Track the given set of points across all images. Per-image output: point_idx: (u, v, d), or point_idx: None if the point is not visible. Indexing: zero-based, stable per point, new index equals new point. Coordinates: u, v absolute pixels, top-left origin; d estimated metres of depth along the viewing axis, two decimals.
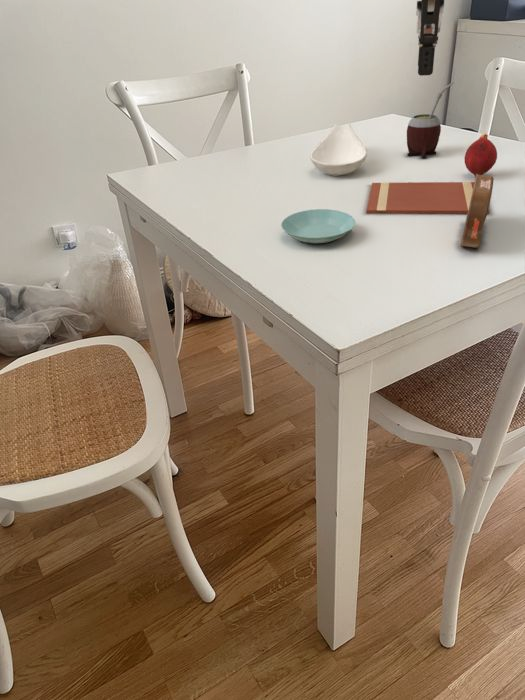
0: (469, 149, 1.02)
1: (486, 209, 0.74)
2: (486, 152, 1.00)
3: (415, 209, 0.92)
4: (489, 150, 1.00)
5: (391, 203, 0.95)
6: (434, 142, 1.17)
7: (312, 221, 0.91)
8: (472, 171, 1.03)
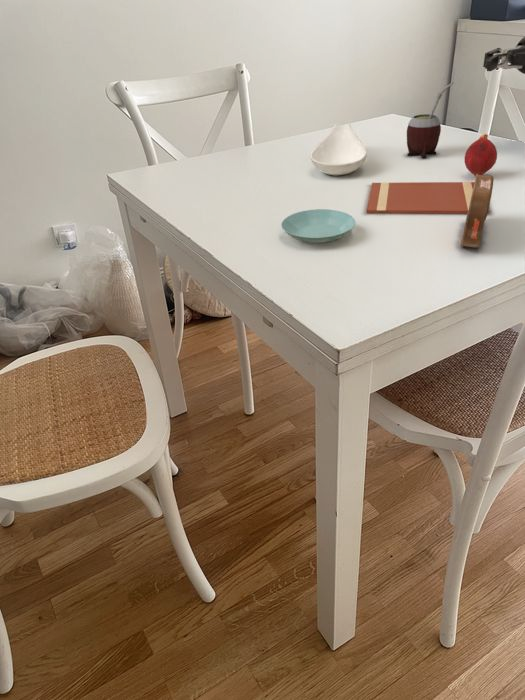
0: (469, 149, 1.02)
1: (486, 209, 0.74)
2: (486, 152, 1.00)
3: (415, 209, 0.92)
4: (489, 150, 1.00)
5: (391, 203, 0.95)
6: (434, 142, 1.17)
7: (312, 221, 0.91)
8: (472, 171, 1.03)
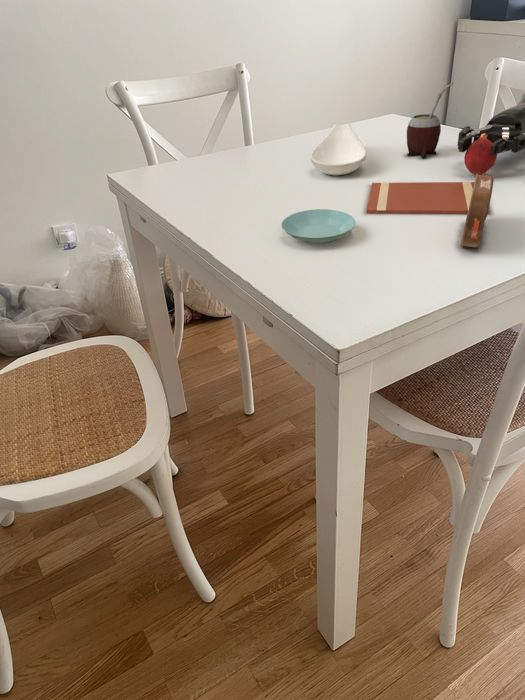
0: (469, 149, 1.02)
1: (486, 209, 0.74)
2: (486, 151, 1.00)
3: (415, 209, 0.92)
4: (489, 150, 1.00)
5: (391, 203, 0.95)
6: (434, 142, 1.17)
7: (312, 221, 0.91)
8: (472, 171, 1.03)
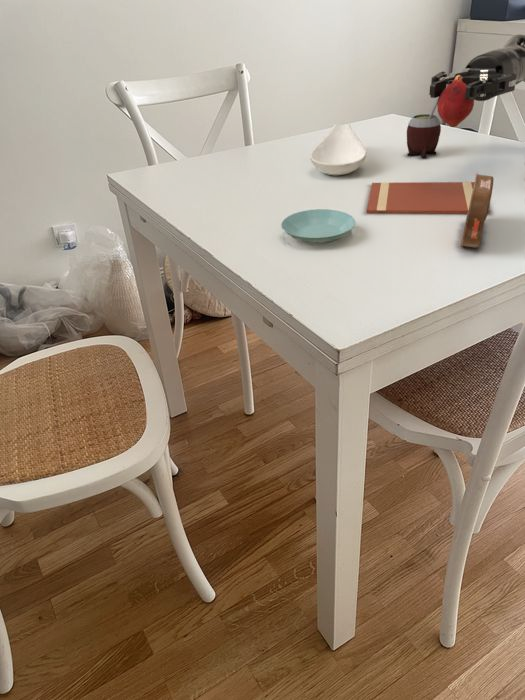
0: (442, 94, 0.89)
1: (486, 209, 0.74)
2: (461, 95, 0.87)
3: (415, 209, 0.92)
4: (464, 93, 0.87)
5: (391, 203, 0.95)
6: (434, 142, 1.17)
7: (312, 221, 0.91)
8: (446, 120, 0.91)
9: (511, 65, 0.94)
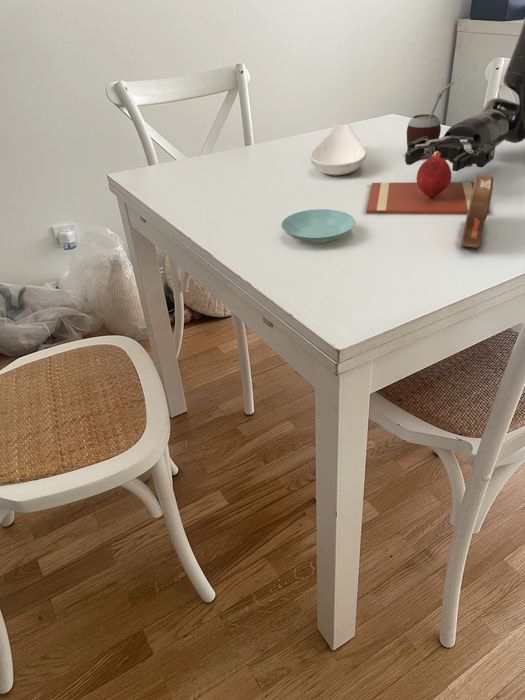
0: (421, 168, 0.93)
1: (486, 209, 0.74)
2: (438, 171, 0.91)
3: (415, 209, 0.92)
4: (442, 169, 0.91)
5: (391, 203, 0.95)
6: None
7: (312, 221, 0.91)
8: (424, 192, 0.94)
9: (489, 132, 0.97)
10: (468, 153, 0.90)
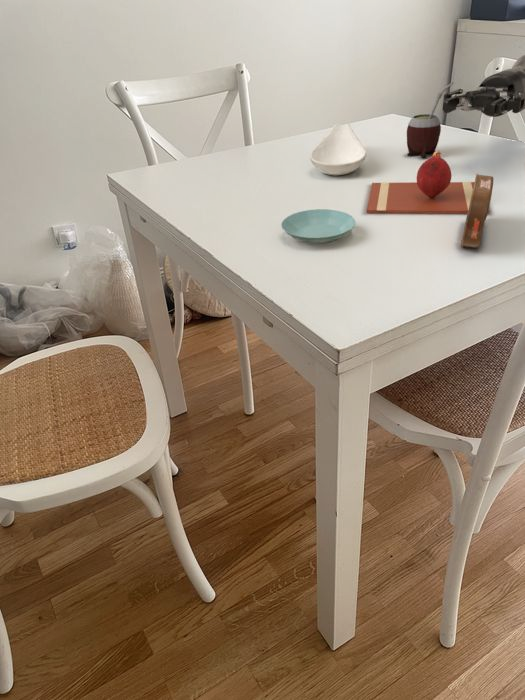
0: (421, 168, 0.93)
1: (486, 209, 0.74)
2: (438, 171, 0.91)
3: (415, 209, 0.92)
4: (442, 169, 0.91)
5: (391, 203, 0.95)
6: (434, 142, 1.17)
7: (312, 221, 0.91)
8: (424, 192, 0.94)
9: (522, 84, 1.01)
10: (505, 99, 0.94)
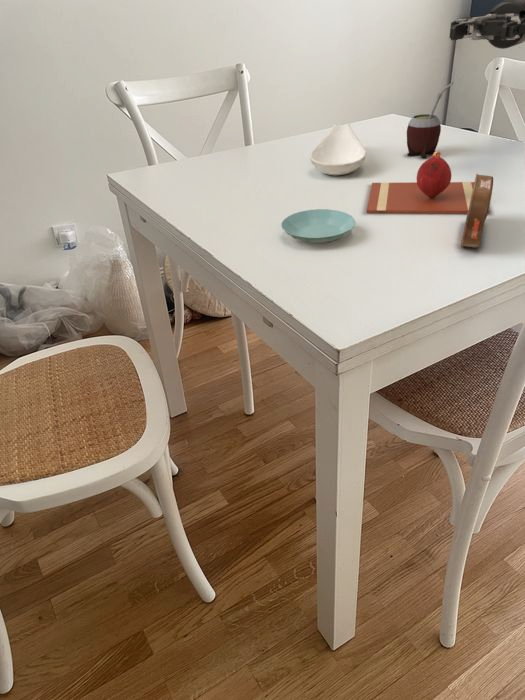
0: (421, 168, 0.93)
1: (486, 209, 0.74)
2: (438, 171, 0.91)
3: (415, 209, 0.92)
4: (442, 169, 0.91)
5: (391, 203, 0.95)
6: (434, 142, 1.17)
7: (312, 221, 0.91)
8: (424, 192, 0.94)
9: None
10: (516, 22, 0.88)
